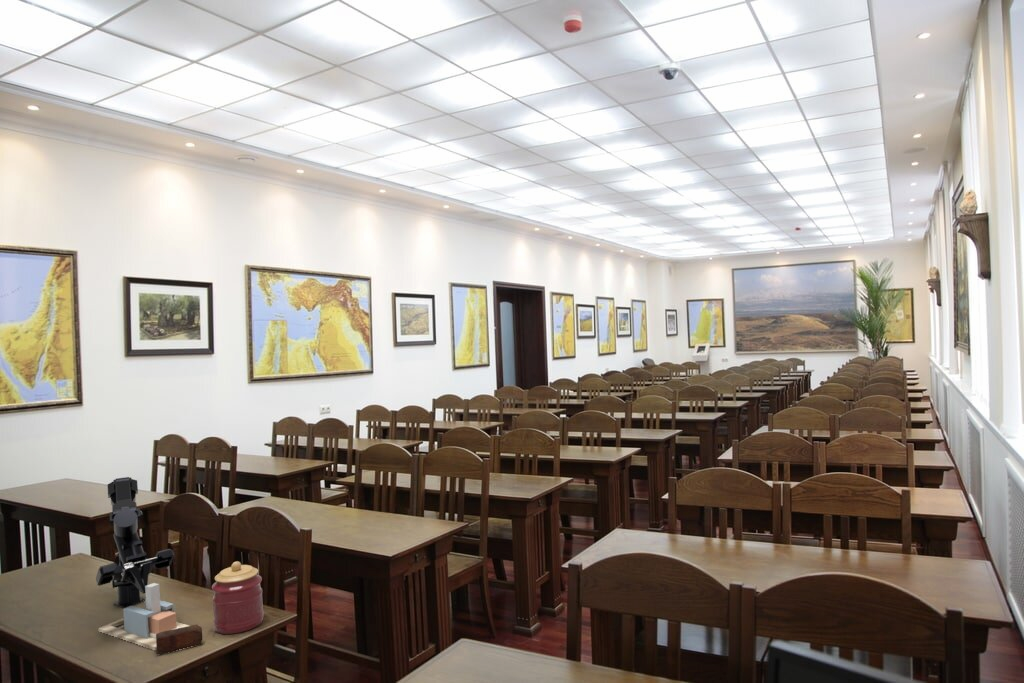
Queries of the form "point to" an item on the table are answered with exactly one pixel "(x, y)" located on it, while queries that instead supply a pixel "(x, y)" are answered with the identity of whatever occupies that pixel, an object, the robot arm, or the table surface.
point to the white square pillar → (158, 612)
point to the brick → (178, 639)
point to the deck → (118, 631)
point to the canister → (237, 599)
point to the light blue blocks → (141, 618)
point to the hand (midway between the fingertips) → (144, 592)
